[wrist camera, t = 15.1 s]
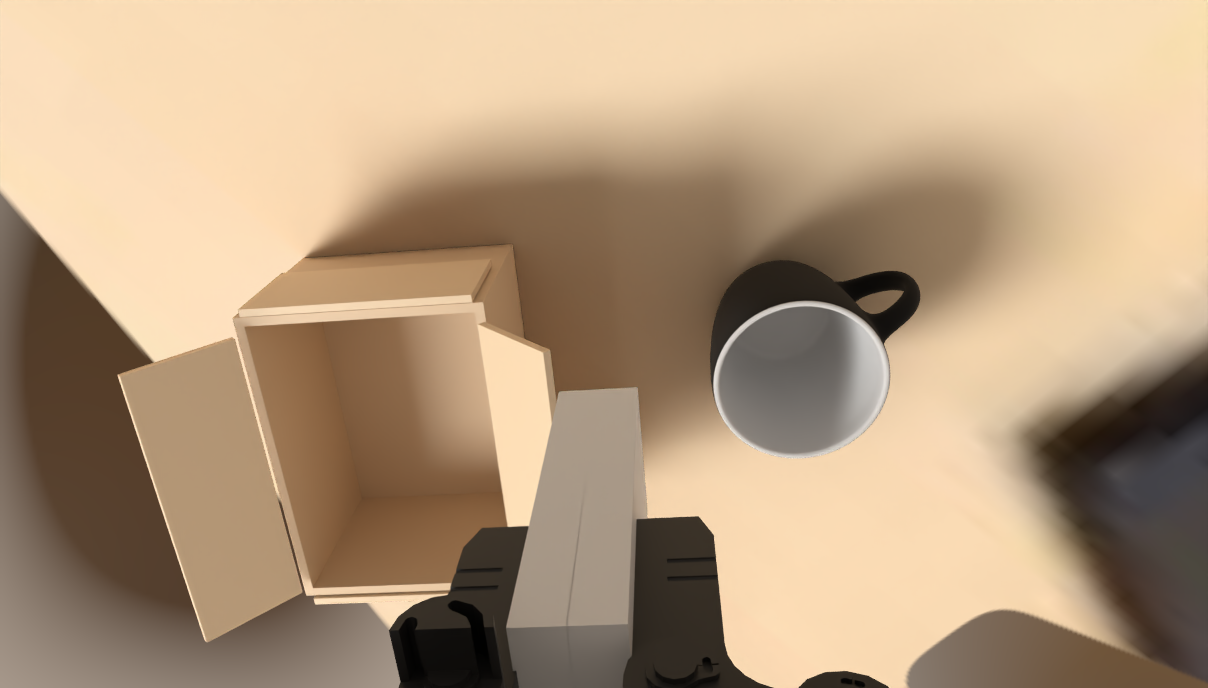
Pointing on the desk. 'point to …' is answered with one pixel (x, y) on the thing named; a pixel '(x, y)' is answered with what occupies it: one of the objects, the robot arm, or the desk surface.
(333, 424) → the carton
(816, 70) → the desk surface
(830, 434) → the mug
